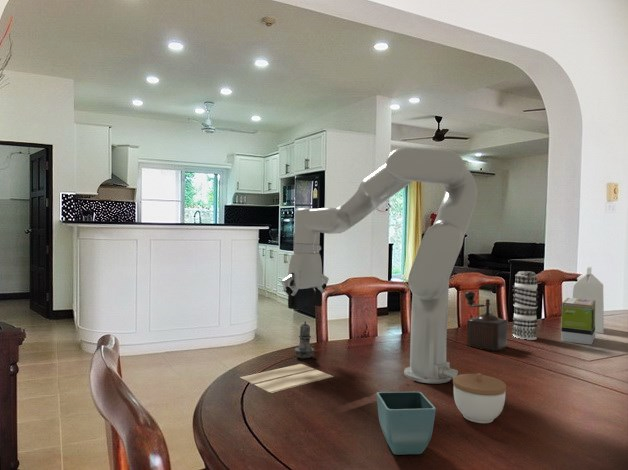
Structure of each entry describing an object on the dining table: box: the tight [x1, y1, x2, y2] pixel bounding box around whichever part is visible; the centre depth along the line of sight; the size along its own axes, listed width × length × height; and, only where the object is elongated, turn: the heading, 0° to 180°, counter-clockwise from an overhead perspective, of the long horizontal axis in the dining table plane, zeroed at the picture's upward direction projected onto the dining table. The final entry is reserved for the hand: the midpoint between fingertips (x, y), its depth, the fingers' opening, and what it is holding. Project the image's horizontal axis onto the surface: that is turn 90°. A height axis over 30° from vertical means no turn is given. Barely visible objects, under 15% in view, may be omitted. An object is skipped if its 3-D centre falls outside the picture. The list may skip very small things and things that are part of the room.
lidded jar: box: [452, 372, 507, 424], centre depth 98 cm, size 11×11×9 cm
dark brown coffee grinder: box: [463, 291, 508, 352], centre depth 162 cm, size 16×11×18 cm
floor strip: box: [239, 363, 316, 385], centre depth 121 cm, size 6×20×1 cm, turn 130°
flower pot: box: [376, 391, 437, 456], centre depth 84 cm, size 9×9×9 cm
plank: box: [254, 369, 335, 394], centre depth 116 cm, size 7×20×1 cm, turn 131°
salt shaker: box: [294, 320, 315, 360], centre depth 137 cm, size 6×6×12 cm
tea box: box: [560, 297, 596, 346], centre depth 173 cm, size 15×10×15 cm, turn 144°
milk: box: [572, 266, 605, 334], centre depth 193 cm, size 12×12×26 cm
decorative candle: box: [511, 270, 540, 341], centre depth 175 cm, size 9×9×25 cm
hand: (305, 307), depth 137 cm, fingers open, 9 cm apart
